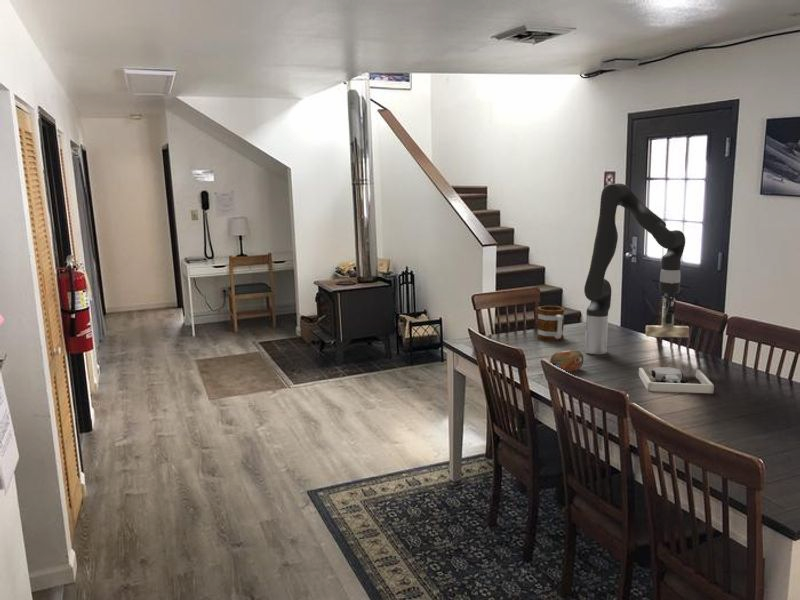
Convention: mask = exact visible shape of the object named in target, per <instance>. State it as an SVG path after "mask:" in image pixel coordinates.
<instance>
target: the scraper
mask: <svg viewBox="0 0 800 600" xmlns="http://www.w3.org/2000/svg"><path fill="white" fill-rule="evenodd" d="M661 309H662V310H661V324H660V325H657V324H656V325H653V324H652V325H651V324H650V325H648V324H647V325H645V334H644V335H645V336H646V337H647V338H649V337H652V338H655V337H656V338H690V327H689V326H688V325H674V323H675V321H674V320H675V313H674V314H673V315H672V323H671V324H666V309H665V307H663V305H662V306H661ZM669 311H671V310H669Z"/></svg>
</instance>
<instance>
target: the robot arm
mask: <svg viewBox="0 0 800 600" xmlns="http://www.w3.org/2000/svg"><path fill="white" fill-rule="evenodd" d="M599 204H600V205H599V215H598V216H599V217H598V223H597V229H596V233H595V239H594V243H593V250H592V251H593V252H592V256H591V261H590V266H589V271H588V274H587V276H586V281H585V284H584V289H583V290H584V291H583V293H584V296H585V298H586V299H587V300H588V301H589V302H590V304H589V306H588V307H587V308H586V318H585V331H584V351H585V353H586V354H590V355H604V354H607V353H608V352H607V350H608V329H609V328H608V327H609V326H608V323H609V312H610V308H611V305H612V304H611V300H612V286H611V284H610V282H609V281H608V280H607V279H606V278H605V275H606V272H607V269H608V267H609V265H610V264H611V261H612V260H613V258H614V255H615V254H616V250H617V245H618V239H619V234H618V229H617V225H616V215H617V208H618V206H621V207H622V208H625V209H626V210H627V211H629V213H631V214H632V215H633V217H634V218H635V220H636V222H637V223H638V225H639V226H641V228H643V229H644V230H646V231H647V232H648V233H649V234H650V235H651V236H652V237H653V239H654V240H655V242H656V243H657V244H658V245H659V246H660V247H662V248H663V249H666V253H665V254H664V255H662V257H661V267H660V268H661V269H660V273H659V277H660V278H659V290H658V291H659V292H660V293H661V294H664V295H662V306H663V307H665V309H666V324H671V323H672V315H673V314H674V315H675V309H676V305H677V304H676V303H677V301H676V297H675V294H679V293H680V291H681V290H680V288H681V263H682V262H681V261H682V260H681V259H682V256H683V253H684V250H685V246H686V236H685V234H684V232H682V231H681V230H670V229H668V228H667V223H666V222H665V220H664V219H663V218H661V217H660V216H659V215H657V214H656V213H655V212H653V211H652V210H651V209H649V208H648V207H647V206H646V205H645V204H644V203H643V202H642V201H641V200H640V199H639V198H638V197H637V195H635V193H634V192H633V191H632V190H631V189H630V188H629V187H628V186H627V184H624V183H608V184H606V185H605V186H604V187H603V189H602V190H601V194H600V203H599ZM669 310H671V311H669Z"/></svg>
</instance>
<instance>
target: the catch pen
mask: <svg viewBox="0 0 800 600" xmlns="http://www.w3.org/2000/svg"><path fill="white" fill-rule="evenodd" d="M638 376H639V379H640V380H641V382H642V383H643V385H644V387H645V388H646V390H647V391H648V392H669V393H672V392H673V393H691V394H692V393H693V394H695V393H696V394H714V391H715V390H714V388H715V384H713V382H712V381H710V379H709V377H707V376H706V375H705V374H704V373H703V372H702V370H701V369H696V370H695V378H696V379H697V380H698V381H699V383H691V384H687V383H681V382H680V383H660V382H659V381H658V382H655V381H654V382H653V381H651V380H650V378H649V375H648V374H647V373H646V371H645V370H644V368H643V367H639V368H638Z"/></svg>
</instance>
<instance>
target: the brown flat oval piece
mask: <svg viewBox="0 0 800 600" xmlns="http://www.w3.org/2000/svg"><path fill="white" fill-rule="evenodd" d="M549 359H550V360H549V364H550V363H552V364H553V365H555V366H557V367H559V368H561V369H563V370H565V371H567V372H566V373H569V372H574V371H578V370H580V369H581V367H582V366H583V364H584V355H583V353H582V352H581V351H579V350H577V349H576V350H575V349H568V350H563V351H558V352H555V353H553V354H552V355H551V357H550V358H549Z"/></svg>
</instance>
